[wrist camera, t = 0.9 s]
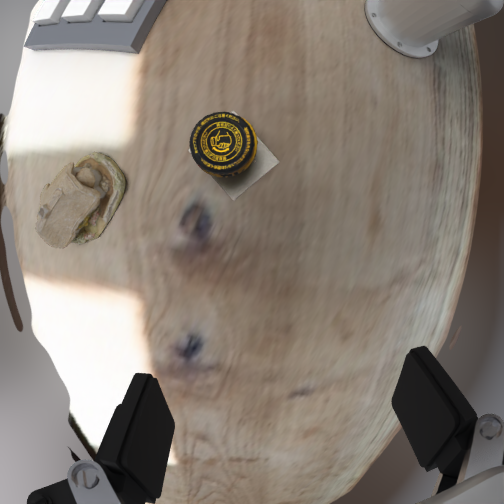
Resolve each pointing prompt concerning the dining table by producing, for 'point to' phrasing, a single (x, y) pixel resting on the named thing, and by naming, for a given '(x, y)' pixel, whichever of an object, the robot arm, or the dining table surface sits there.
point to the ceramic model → (80, 201)
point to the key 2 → (81, 10)
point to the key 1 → (50, 12)
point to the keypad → (97, 32)
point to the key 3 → (120, 10)
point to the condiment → (230, 152)
